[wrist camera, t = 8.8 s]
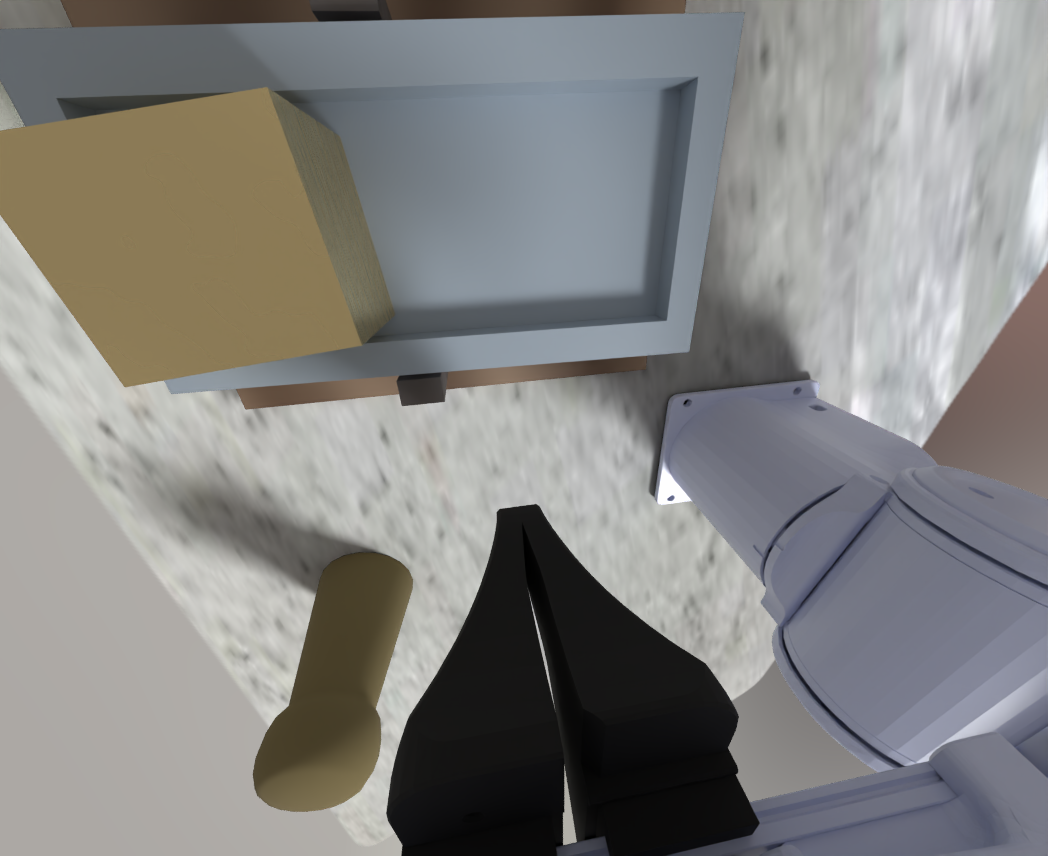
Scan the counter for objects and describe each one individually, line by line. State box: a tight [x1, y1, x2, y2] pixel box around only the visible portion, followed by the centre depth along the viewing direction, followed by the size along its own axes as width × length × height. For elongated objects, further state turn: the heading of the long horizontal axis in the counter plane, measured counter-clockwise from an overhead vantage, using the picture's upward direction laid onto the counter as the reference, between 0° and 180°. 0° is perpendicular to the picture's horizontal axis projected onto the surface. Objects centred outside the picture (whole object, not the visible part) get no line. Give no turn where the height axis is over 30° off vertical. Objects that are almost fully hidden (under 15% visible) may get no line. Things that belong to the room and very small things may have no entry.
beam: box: [0, 12, 745, 394], centre depth 12 cm, size 18×9×2 cm, turn 93°
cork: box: [253, 552, 413, 812], centre depth 20 cm, size 6×6×11 cm
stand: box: [61, 0, 686, 409], centre depth 14 cm, size 20×14×5 cm
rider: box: [0, 87, 395, 387], centre depth 10 cm, size 6×5×4 cm
